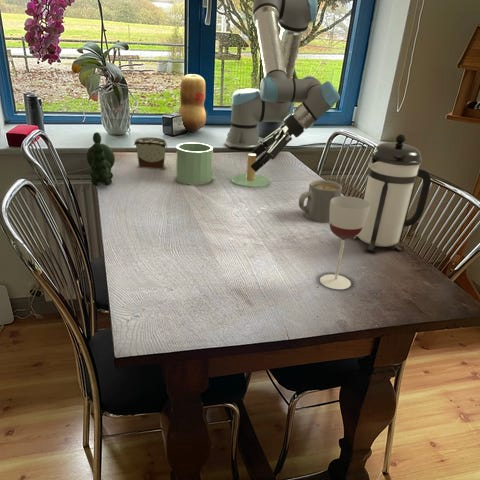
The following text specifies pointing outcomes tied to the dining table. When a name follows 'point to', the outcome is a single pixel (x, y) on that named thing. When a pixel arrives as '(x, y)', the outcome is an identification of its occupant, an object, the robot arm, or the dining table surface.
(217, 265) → the dining table surface
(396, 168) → the coffee press
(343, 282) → the wineglass
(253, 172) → the lid
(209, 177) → the canister
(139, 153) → the food container
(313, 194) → the coffee mug
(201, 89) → the butternut squash
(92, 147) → the toy figurine
